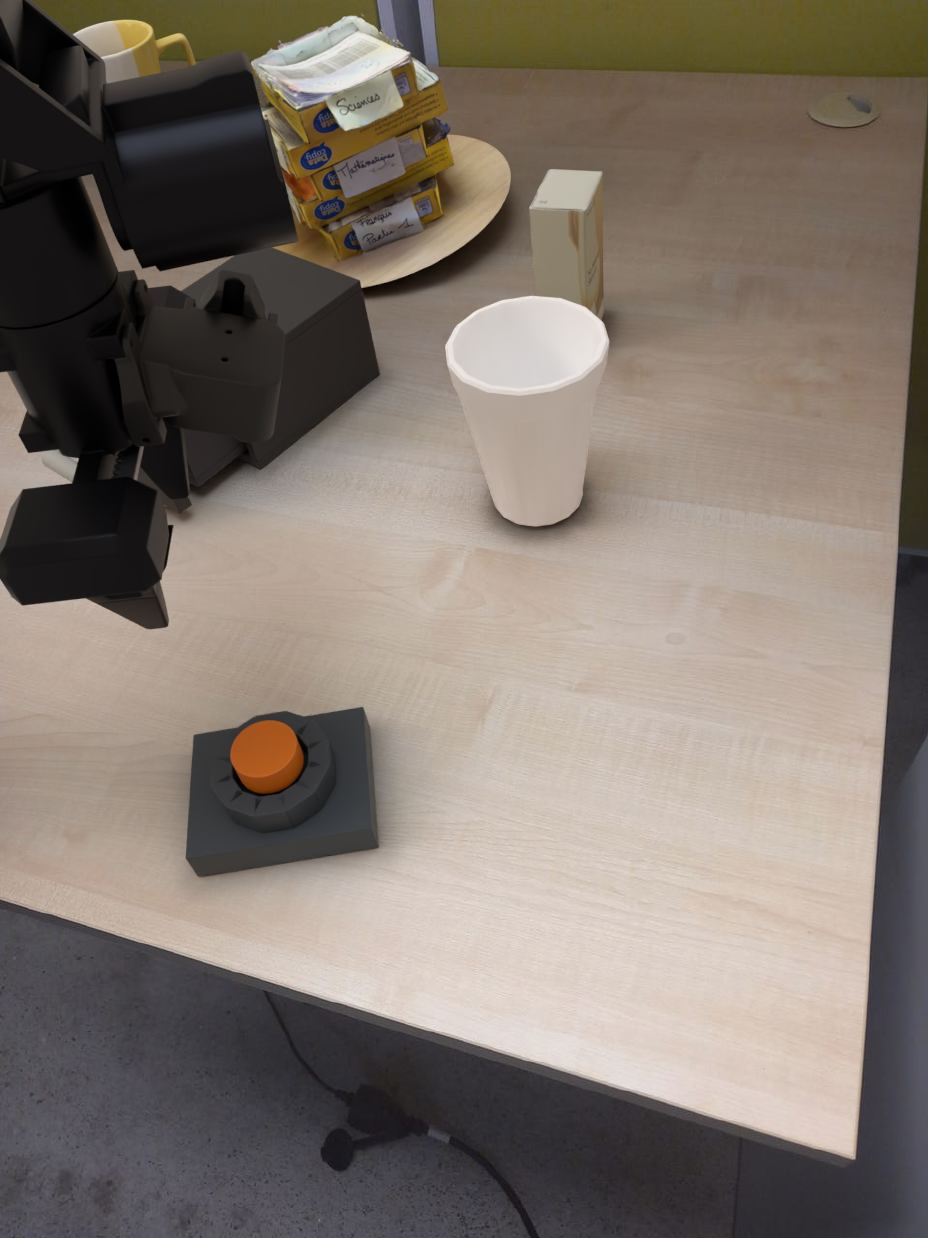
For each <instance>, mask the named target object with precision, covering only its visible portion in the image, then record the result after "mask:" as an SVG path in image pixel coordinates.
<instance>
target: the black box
mask: <svg viewBox="0 0 928 1238" xmlns="http://www.w3.org/2000/svg"><path fill="white" fill-rule="evenodd" d="M220 270H228V271H233V272H239V273H244V274H249V275H251V276H252V277H253V279H254V281H255V284H256V286H257V288H258V291H259V293H260V295H261V298H262V300H263V303H264V305H265V316H266V318H267V319H268V316H269V313H276V314H278V320H277V325H278V326H279V327H280V328H281V329H282V330H283V331H284V333H285V346H284V358H283V370H282V379H281V386H280V392H279V399H278V406H277V413H276V420H275V427H274V433H273V435H272V437H271V438H270V439H268V440H266V441H264V442H260V443H249V442H246V445H247V448H248V449H247V450H246V451H244V452H243V453H242V454H241V455H239V456H238V457H237V458H238V459H240V460H242V461H243V462H246V463H248V464H250V465H252V466H253V467H255V468H257V469H259V470H262V469H263V468H265V466H267V465H268V464H269V463H271V462H272V461H273V460H275V459H276V458H278V456H279V455H281V454H282V453H284V451H285V450H287V449H288V448H289V447H290V446H292V445H293V444H294V443H296V441H298V440H299V439H300V438H302V437H303V436H304V435H305V434H307V433H308V432H310V430H312V429H313V428H314V427H316V426H317V425H318V424H319V423H321V422H322V421H323V420H324V419H326V418H327V417H328V416H329V415H330V414H332V413H333V412H334V411H336V410H337V409H338V408H340V407H341V406H342V405H343V404H344V403H345V402H347V401H348V400H349V399H351V398H352V397H353V396H354V395H355V394H357V393H358V392H359V391H361V390H362V389H363V388H365V386H366V385H368V384H370V382H372V381H373V380H375V378H377V377H379V375H380V369H379V363H378V358H377V353H376V348H375V345H374V339H373V334H372V329H371V325H370V321H369V316H368V312H367V307H366V302H365V297H364V292H363V288H361V283H360V280H358V279H355V278H352V277H350V276H347V275H344V274H342V273H339V272H336V271H334V270H331V269H328V268H326V267H323V266H320V265H318V264H315V263H312V262H310V261H307V260H304V259H302V258H299V257H296V256H294V255H291V254H288V253H285V252H283V251H280V250H277V249H275V248H267V249H263V250H258V251H253V252H249V253H244V254H239V255H235V256H231V257H229V258H228V259H227V260H226V261H224V262H223V263H221V264H220V265H218V266H217V267H215V268H214V269H212V270H211V271H209V272H208V273H206V274H204V275H203V276H202V277H200V278H199V279H197V280H195V281H194V282H192V283H191V284H189V285H188V286H186V287H185V288H183V289H182V290H180V291H181V292H183V293H184V294H186V295H188V296H190V297H191V298H193V299H195V303H196V306H197V305H198V304H199V303H200V300H201V296H202V294H203V293H204V291H205V290H206V289H207V287H208V286H209V285H210V283H211V282H212V281H213V279H214V278H215V277H216V275H217V274H218V273H219V271H220Z"/></svg>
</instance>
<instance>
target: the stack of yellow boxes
mask: <svg viewBox="0 0 928 1238" xmlns="http://www.w3.org/2000/svg"><path fill="white" fill-rule="evenodd" d="M361 16H362V17H365V15H364V14H363V13H361ZM362 17H358V16H357V15H347V16H342V18H341V19H340V20H338V21H336V22H335V23H333V24H332V25H331V26H328V25H326V26H324V27H322V26H321V27H318V28H317V30H315V31H312V32H310V33H305V35H301V36H300V37H297V38H295V39H294V40H291V41H289V42H284V43H283V42H282V41H281V40H280V39H279V40H278V43H279V45H277V48H278V49H273V47H270V49H269V50H267V53H265V54H263V55H262V56H259V57H257V58H254V59H253V60H251V63H250V66H251V69H252V71H253V73H254V75H255V78H256V79H257V81H258V84H259V86H260V88H261V90H262V92H263V94H264V95H265V96H266V99H267V102H264V104H263V105H262V104H260V106H261V110H262V114H263V118H264V120H265V119H268V121H269V124H270V128H271V132H272V136H273V139H274V143H275V147H276V151H277V154H278V158H279V162H280V165H281V169H282V173H283V177H284V181H285V185H286V189H287V193H288V197H289V201H290V206H291V210H292V214H293V218H294V223H295V227H296V232H297V236H298V241H299V242H295V243H291V244H286V245H281V246H277V247H272V248H275V249H277V250H280V251H283V252H285V253H288V254H291V255H294V256H296V257H299V258H302V259H304V260H307V261H310V262H312V263H315V264H318V265H320V266H323V267H326V268H328V269H331V270H334V271H336V272H339V273H342V274H344V275H347V276H350V277H352V278H355V279H358V280H360V283H361V288H362V289H363V288H368V287H373V286H376V285H381V284H384V283H389V282H393V281H396V280H399V279H401V278H403V277H408V275H411V274H415V273H416V272H419V271H421V270H423V269H425V268H428V267H430V266H432V265H434V264H436V263H438V262H439V261H440V260H443V259H444V258H446V257H448V256H450V255H451V254H453V253H454V252H457V250H459V249H460V248H462V247H463V246H465V245H466V244H467V243H469V242H470V241H472V240H473V239H474V238H475V237H476V236H477V235H479V234H480V233H481V232H482V231H483V230H484V229H485V228H486V227H487V225H488V224H490V222H491V221H493V220H494V218H495V217H496V215H497V214H498V212H499V211H500V209H502V206H503V204H504V202H505V201H506V199H507V197H508V194H509V191H510V188H511V179H512V176H511V175H512V174H511V168H510V164H509V163H508V161H507V159H506V157H505V156H504V155H503V154H502V153H501V152H500V151H499V150H498V149H497V148H496V147H494V146H493V145H491V144H489V143H488V142H486V141H483V140H480V139H477V138H473V137H471V136H465V135H458V134H449V133H450V132H451V129H452V128H451V127H450V124H449V123H448V122H447V121H445V123H443V122H442V120H441V119H438V118H437V117H439V116H441V115H443V114H445V113H446V112H448V110H449V105H448V103H447V99H446V95H445V91H444V86H443V83H442V79H441V78H440V77H439V76H437V74H436V73H435V72H433V71H430V70H429V69H428V68H427V66H426V65H425V64H424V63H422V62H421V61H420V60H418V59H417V58H415V57H412V56H411V52H410V51H408V50H406V49H405V48H404V47H405V46H404V44H403V43H402V42H401V41H400V40H399V39H396V38H395V37H392V38H391V37H389V36H388V35H387V32H386V31H385V30H383V29H382V28H380V31H379V30H378V28H377V27H376V26H375V25H374V24H371V23H369V22H366V20H364V19H363V18H362ZM393 43H395V44H396V45H394V44H393ZM398 45H399V46H398Z"/></svg>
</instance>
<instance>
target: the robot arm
mask: <svg viewBox="0 0 928 1238" xmlns="http://www.w3.org/2000/svg"><path fill="white" fill-rule="evenodd" d="M73 34H74V33H72V32H71V31H69V30H68V29H66V28H65V27H64V26H63V25H62V24H61V23H59V22H58V21H57V20H56V19H55V18H53V17H52V16H51V15H50V14H49V13H47V12H46V11H45V10H43V9H42V7H40V6H39V5H38V4H36V3H35V2H34V1H32V0H0V373H7V375H8V377H9V379H10V380H11V382H12V384H13V386H14V388H15V390H16V392H17V394H18V396H19V397H20V399H21V401H22V404H23V405H24V407H25V409H26V411H25V414H24V417H23V420H22V423H21V426H20V428H19V432H18V437H19V439H20V441H21V443H22V445H23V446H24V448H25V450H26V452H27V454H32V453H42V452H45V451H50V450H58V451H60V453H61V455H63V456H67V457H69V458H71V459H78V460H77V462H78V463H77V467H76V471H75V474H74V478H73V481H72V482H70V483H62V484H54V485H46V486H39V487H38V486H36V487H28V488H23V489H22V490H21V491H20V493H19V494H18V496H17V497H16V498H15V500H14V502H13V503H12V505H11V506H10V510H9V511H8V514H7V518H6V521H5V524H4V527H3V530H2V533H1V536H0V581H1V583H2V585H3V586H4V587H5V589H6V591H7V592H8V593H9V595H10V597H11V598H12V599H14V601H16V602H17V603H18V604H20V605H21V606H23V607H24V606H32V605H39V604H49V603H57V602H58V603H59V602H67V601H74V600H83V599H86V600H88V601H89V602H92V603H94V604H96V605H98V606H101V607H102V608H105V609H106V610H108V611H110V612H112V613H114V614H116V615H118V616H120V617H122V618H124V619H125V620H128V621H129V622H132V623H134V624H136V625H138V626H140V627H141V628H143V629H146V630H159V629H166V628H167V627H169V623H170V617H169V613H168V612H169V611H168V608H167V603H166V599H165V598H166V597H165V594H164V591H163V587H162V584H161V581H162V580H163V573H164V572H165V571H166V569H167V566H168V561H169V560H168V559H169V556H170V554H169V553H170V548H171V543H172V538H173V537H172V536H173V531H174V524H169V523H168V517H167V508H166V506H165V505H164V504H163V502H162V500H161V497H160V495H159V493H158V491H157V490H155V489H153V488H151V487H149V486H147V485H145V484H143V483H141V482H139V481H137V477H138V472H139V468H140V467H141V469H142V470H143V471H144V472H145V473H146V475H147V476H148V477H149V478H150V479H151V481H152V482H153V483H154V484H155V485H156V486H157V487H158V488H159V489H160V490H161V491H162V492H163V493H164V494H165V495H166V496H167V497H168V498H169V499H171V500H178V499H186V498H188V497H189V498H190V493H191V490H190V483H189V477H188V465H187V454H186V443H185V432H184V429H187V430H194V431H200V432H207V433H214V434H220V435H227V436H233V437H236V438H237V439H238V440H239V441H242V442H249V443H260V442H264V441H266V440H268V439H270V438H271V437H272V435H273V433H274V427H275V420H276V413H277V406H278V399H279V392H280V386H281V379H282V370H283V358H284V346H285V333H284V331H283V330H282V329H281V328H280V327H279V326H278V325H277V320H278V314H276V313H269V316H268V319H267V318H266V316H265V305H264V303H263V300H262V298H261V295H260V293H259V291H258V288H257V286H256V284H255V281H254V279H253V277H252V276H251V275H249V274H244V273H239V272H233V271H228V270H220V271H219V273H218V274H217V275H216V277H215V278H214V279H213V281H212V282H211V283H210V285H209V286H208V287H207V289H206V290H205V291H204V293H203V294H202V296H201V300H200V303H199V304H198V305H197V306H196V303H195V299H193V298H191V297H190V296H188V295H186V294H184V293H183V292H181V291H182V290H179V289H178V288H176V287H174V286H173V285H171V284H170V285H161V286H153V287H149V286H148V283H147V281H146V279H144V278H140V279H138V276H137V273H136V270H135V269H130V270H123V271H121V270H120V271H119V269H118V267H117V265H116V264H117V263H116V261H115V259H114V257H113V254H112V252H111V249H110V247H109V244H108V241H107V238H106V236H105V233H104V231H103V228H102V226H101V223H100V221H99V218H98V216H97V213H96V210H95V208H94V205H93V202H92V200H91V198H90V196H89V193H88V191H87V187H86V185H85V182H84V179H83V178H82V177H85V176H91V175H92V176H93V179H94V182H95V185H96V188H97V190H98V194H99V196H100V200H101V203H102V206H103V209H104V212H105V215H106V218H107V220H108V223H109V225H110V228H111V229H112V232H113V235H114V237H115V239H116V241H117V243H118V245H119V247H120V248H121V250H123V251H124V252H126V251H132V250H133V253H134V255H135V257H136V260H137V261H138V263H139V266H140V267H141V269H142V270H143V269H147V268H148V269H149V268H153V267H155V268H156V269H157V270H158V271H159V272H164V271H168V270H169V271H170V270H174V269H178V268H183V267H187V266H193V265H198V264H202V263H207V262H211V261H215V260H220V259H224V258H231V257H233V256H235V255H239V254H244V253H249V252H253V251H258V250H263V249H267V248H272V247H277V246H281V245H286V244H291V243H295V242H299V241H298V236H297V232H296V227H295V223H294V218H293V214H292V210H291V206H290V201H289V197H288V193H287V189H286V185H285V181H284V177H283V173H282V169H281V165H280V162H279V158H278V154H277V151H276V147H275V143H274V139H273V136H272V132H271V128H270V124H269V121H268V119H265V120H264V118H263V114H262V110H261V106H260V105H261V104H260V98H259V94H258V91H257V86H256V82H255V78H254V74H253V69H252V65H251V63H250V59H249V55H248V54H246V53H245V52H244V51H242V50H237V51H232V52H227V53H222V54H218V55H214V56H209V57H207V58H205V59H203V60H201V61H199V62H196V64H195V65H193V66H190V67H189V66H187V67H183V68H179V69H178V68H177V69H173V70H167V71H163V72H162V71H161V73H157V74H152V75H147V76H142V77H137V78H132V79H127V80H122V81H117V82H112V83H107V82H106V68H105V62H104V61H103V59H102V58H101V57H100V56H98V55H97V54H96V53H95V52H94V51H92V50H91V49H90V48H89V47H87V46H86V45H85V44H84V43H83V42H81V41H80V40H79V39H78V38H76V37H75V36H74V35H73Z"/></svg>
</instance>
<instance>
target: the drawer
mask: <svg viewBox="0 0 928 1238" xmlns="http://www.w3.org/2000/svg"><path fill="white" fill-rule="evenodd" d="M184 432H185V443H186V454H187V465H188V477H189V484H191V485H193V486H195V487H196V488H200V487H201V486H202V485H204V484H205V483H206V482H207V481H209V480H210V479H212V477H214V476H215V475H216V474H218V473H219V472H220V471H221V470H223V469H224V468H225V467H227V466H228V465H229V464H231V463H232V462H233V461H234V460H236V459H237V458H238V456H239V455H241V454H242V453H243V452H244V451H246V450H247V449H248V448H247V445H246V442H242V441H239V440H238V439H237V438H236V437H233V436H227V435H220V434H214V433H207V432H200V431H194V430H187V429H184ZM41 462H42V465H43V466H45V467H46V468H47V469H48V470H51V471H53V472H54V473H56V474H57V475H59V476H61V477H62V478H64V479H66V480H67V481H69V482H70V483H72V481H73V478H74V474H75V471H76V467H77V463H78V461H76V460H74V458H72V457H67V456H63V455H61V453H60V451H59V450H50V451H43V453H42V455H41ZM137 481H139V482H141V483H143V484H145V485H147V486H149V487H151V488H153V489H155V490H157V491H158V493H159V495H160V497H161V500H162V502H163V504H164V507H167V508H169V509H170V510H172V511H173V512H175V513H177V514H179V515H181V514H183V513H184V512H185V511H186V510H187V509H189V508H190V507H192V505H193V504H192V501H191V499H190V496H189V497H188V498H186V499H178V500H171V499H169V498H168V497H167V496H166V495H165V494H164V493H163V492H162V491H161V490H160V489H159V488H158V487H157V486H156V485H155V484H154V483H153V482H152V481H151V479H150V478H149V477H148V476H147V475H146V473H145V472H144V471H143V470H142V469H141V467H140V468H139V472H138V477H137Z"/></svg>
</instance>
